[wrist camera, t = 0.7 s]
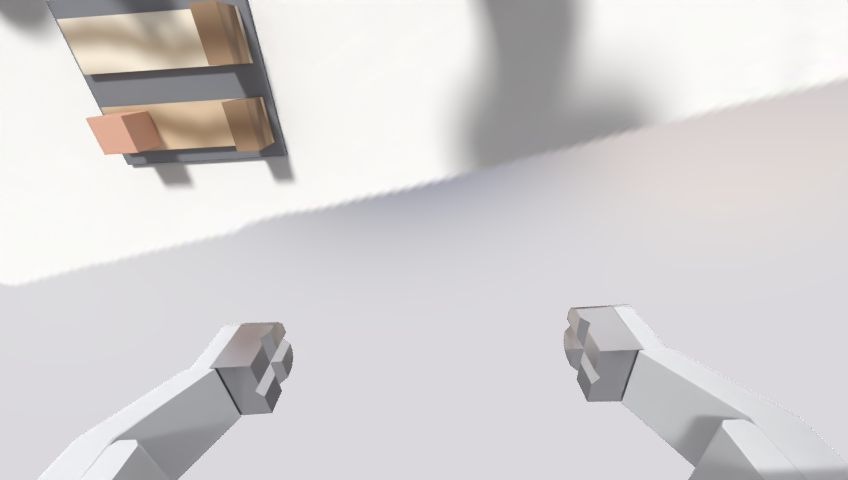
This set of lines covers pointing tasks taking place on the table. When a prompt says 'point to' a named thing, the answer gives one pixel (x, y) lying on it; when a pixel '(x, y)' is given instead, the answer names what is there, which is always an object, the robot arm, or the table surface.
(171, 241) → the table surface
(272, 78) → the table surface
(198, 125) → the oak strip
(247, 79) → the lane mat
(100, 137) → the terracotta cube
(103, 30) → the pale ash strip
